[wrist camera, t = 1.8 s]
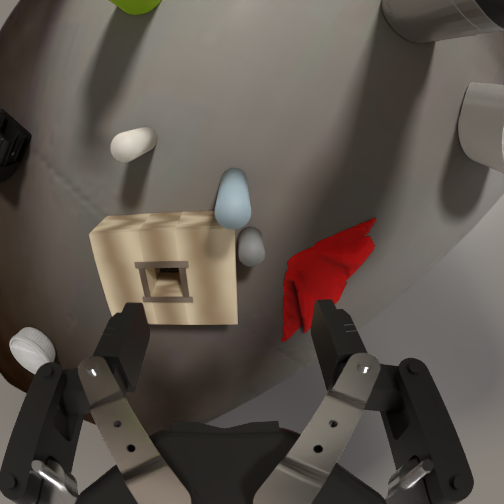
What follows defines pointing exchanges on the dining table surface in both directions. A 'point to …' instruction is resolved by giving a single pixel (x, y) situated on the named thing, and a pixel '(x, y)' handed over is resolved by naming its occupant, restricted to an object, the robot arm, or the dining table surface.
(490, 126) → the toilet tissue
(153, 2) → the soap dispenser
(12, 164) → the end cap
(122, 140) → the medium pin
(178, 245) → the hole block
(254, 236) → the short pin
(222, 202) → the long pin
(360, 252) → the cloth
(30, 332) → the ramekin
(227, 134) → the dining table surface
